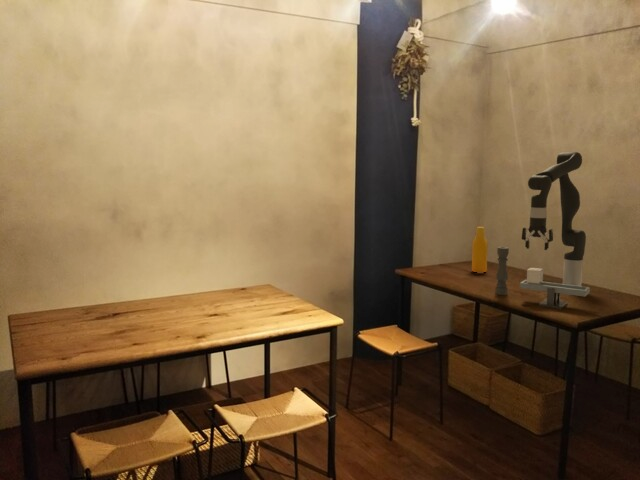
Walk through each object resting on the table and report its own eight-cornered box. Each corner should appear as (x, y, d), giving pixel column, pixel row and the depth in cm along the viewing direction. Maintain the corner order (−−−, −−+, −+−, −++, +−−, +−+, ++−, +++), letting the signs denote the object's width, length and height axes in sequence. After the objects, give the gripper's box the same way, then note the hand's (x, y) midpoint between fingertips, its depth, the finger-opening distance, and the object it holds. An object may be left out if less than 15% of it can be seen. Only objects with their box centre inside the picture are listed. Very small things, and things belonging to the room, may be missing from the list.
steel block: (530, 283, 268) (530, 267, 267) (542, 284, 265) (543, 268, 263) (526, 285, 264) (527, 269, 262) (539, 286, 260) (539, 270, 259)
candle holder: (508, 295, 278) (510, 248, 275) (495, 295, 280) (497, 248, 276) (506, 292, 284) (508, 246, 281) (494, 292, 286) (496, 246, 282)
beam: (525, 284, 271) (525, 279, 271) (589, 292, 253) (589, 287, 252) (519, 288, 264) (519, 282, 264) (585, 296, 246) (585, 290, 245)
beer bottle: (469, 270, 342) (470, 226, 338) (483, 270, 343) (484, 226, 339) (475, 273, 333) (476, 228, 329) (489, 273, 334) (490, 227, 330)
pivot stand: (545, 300, 267) (546, 282, 266) (567, 303, 261) (568, 285, 260) (538, 305, 258) (539, 287, 256) (560, 309, 252) (561, 290, 250)
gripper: (555, 216, 257) (553, 249, 260) (525, 215, 266) (524, 246, 268) (551, 218, 251) (549, 251, 254) (520, 216, 260) (519, 248, 262)
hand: (536, 249), depth 261 cm, fingers open, 8 cm apart
